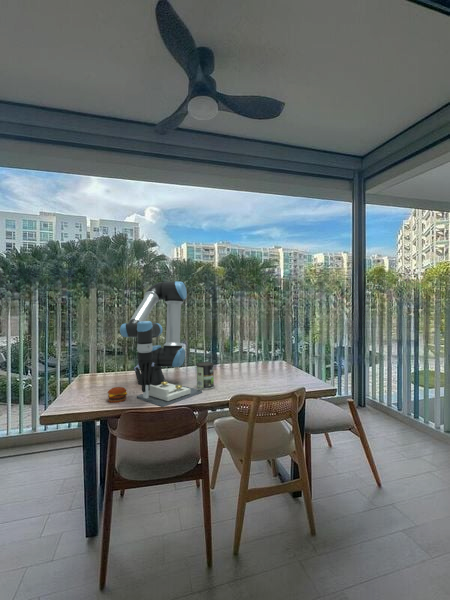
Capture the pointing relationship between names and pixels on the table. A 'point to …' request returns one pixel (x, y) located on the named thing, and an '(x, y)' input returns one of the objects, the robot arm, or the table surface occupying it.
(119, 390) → the hamburger
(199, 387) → the coffee can
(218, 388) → the table surface
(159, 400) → the base
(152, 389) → the panel
